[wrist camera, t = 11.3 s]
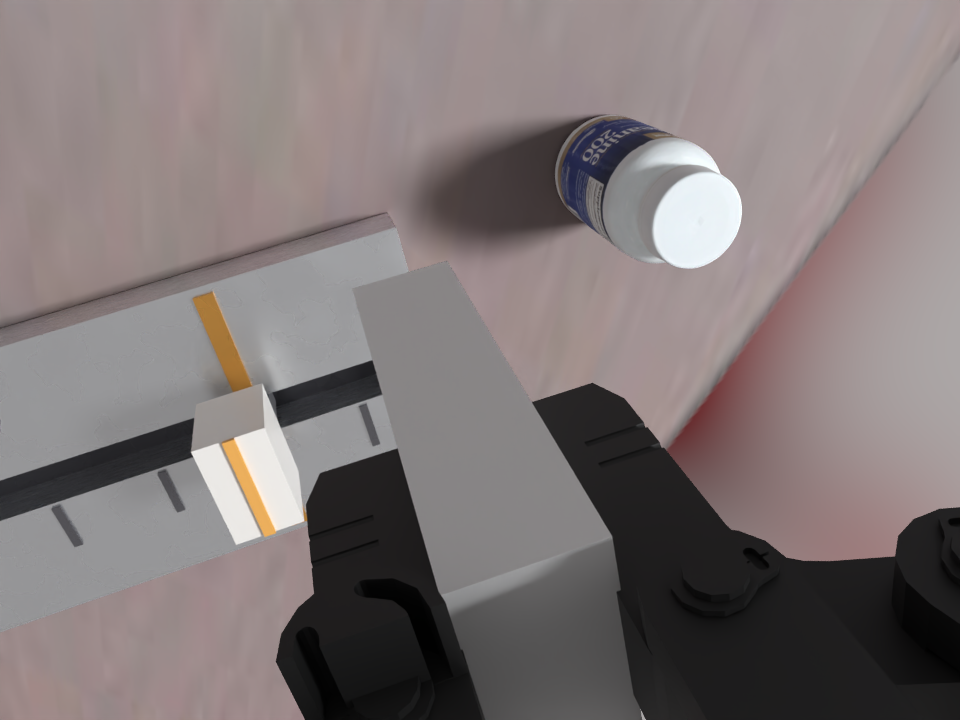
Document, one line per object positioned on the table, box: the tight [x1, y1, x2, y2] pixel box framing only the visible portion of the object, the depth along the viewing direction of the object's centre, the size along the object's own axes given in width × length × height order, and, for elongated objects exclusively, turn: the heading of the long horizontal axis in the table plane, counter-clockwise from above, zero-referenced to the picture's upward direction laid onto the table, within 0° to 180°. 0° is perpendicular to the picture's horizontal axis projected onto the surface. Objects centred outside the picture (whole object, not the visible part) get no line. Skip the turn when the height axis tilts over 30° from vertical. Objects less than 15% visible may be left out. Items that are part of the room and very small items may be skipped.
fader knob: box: [191, 383, 304, 545], centre depth 37 cm, size 5×3×8 cm, turn 13°
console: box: [0, 213, 409, 632], centre depth 39 cm, size 14×28×3 cm, turn 103°
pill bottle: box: [555, 115, 742, 269], centre depth 36 cm, size 5×5×10 cm
